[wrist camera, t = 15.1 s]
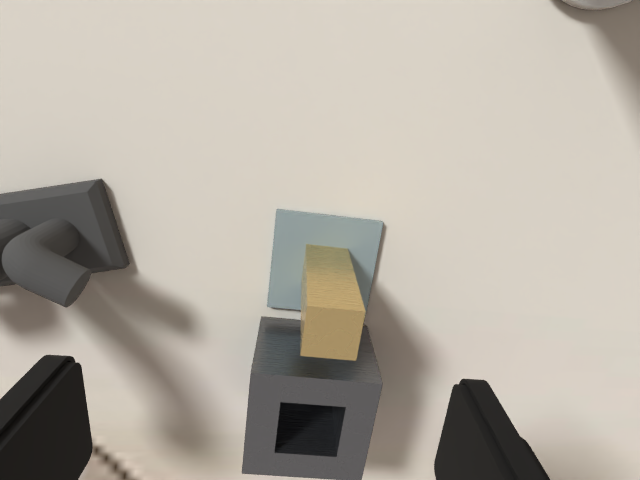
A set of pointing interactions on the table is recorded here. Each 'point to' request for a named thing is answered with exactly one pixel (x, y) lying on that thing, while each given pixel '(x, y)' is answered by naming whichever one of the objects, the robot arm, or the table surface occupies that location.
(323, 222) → the rubber pad
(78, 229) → the faucet
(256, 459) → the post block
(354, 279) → the brass peg
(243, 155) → the table surface
